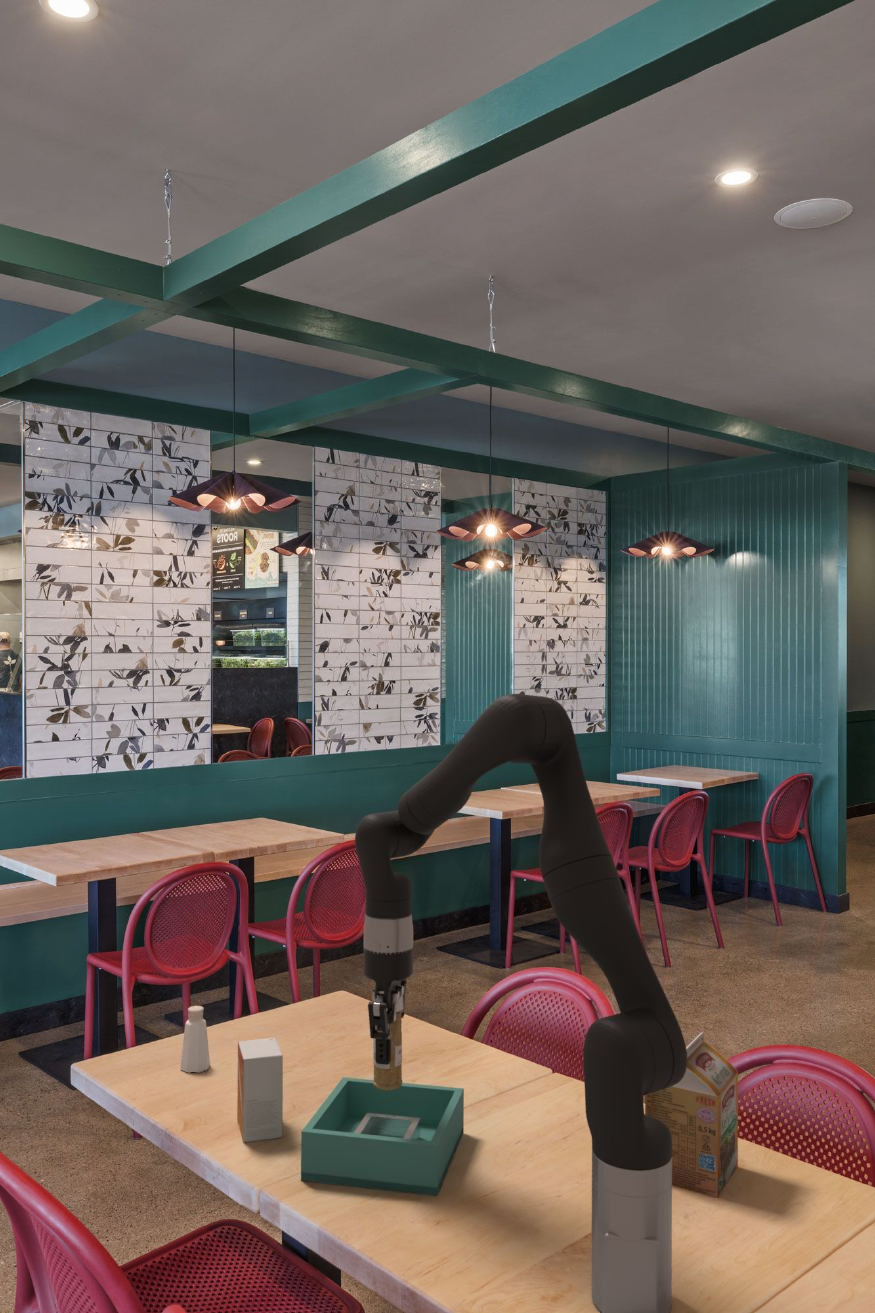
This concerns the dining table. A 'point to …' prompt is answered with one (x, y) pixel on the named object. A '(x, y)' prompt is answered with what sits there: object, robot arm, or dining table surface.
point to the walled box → (383, 1138)
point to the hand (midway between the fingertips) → (387, 1056)
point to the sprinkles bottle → (391, 1073)
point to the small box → (260, 1089)
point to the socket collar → (390, 1126)
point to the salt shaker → (195, 1042)
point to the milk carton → (701, 1120)
